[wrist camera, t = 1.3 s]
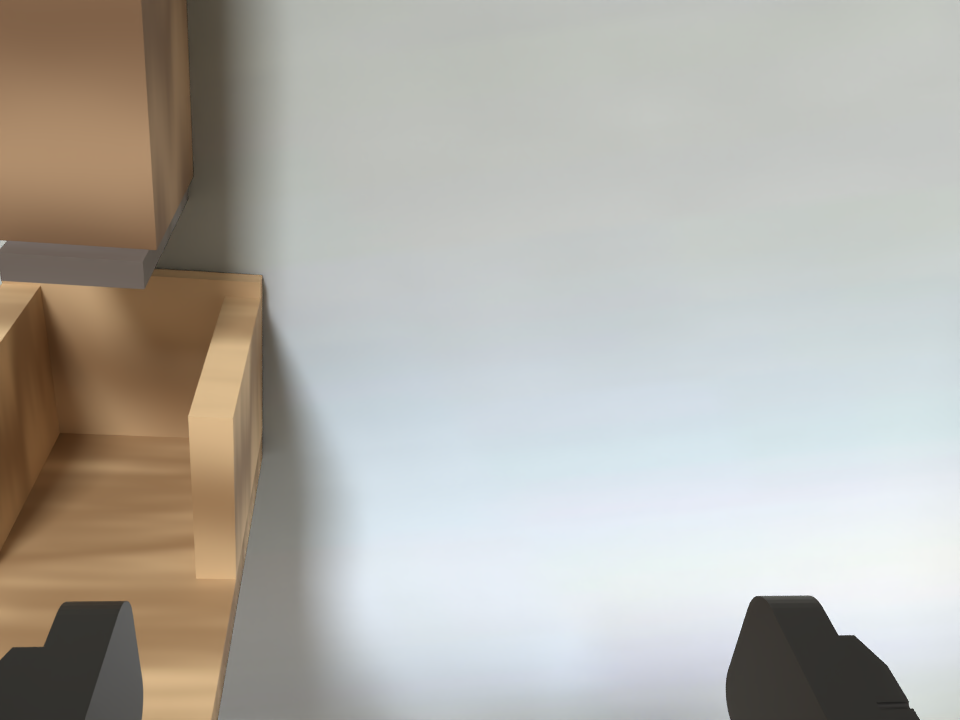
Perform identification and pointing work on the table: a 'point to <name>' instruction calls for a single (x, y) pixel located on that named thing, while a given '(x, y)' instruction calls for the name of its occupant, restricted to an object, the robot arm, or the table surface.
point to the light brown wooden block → (92, 138)
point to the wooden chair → (132, 466)
